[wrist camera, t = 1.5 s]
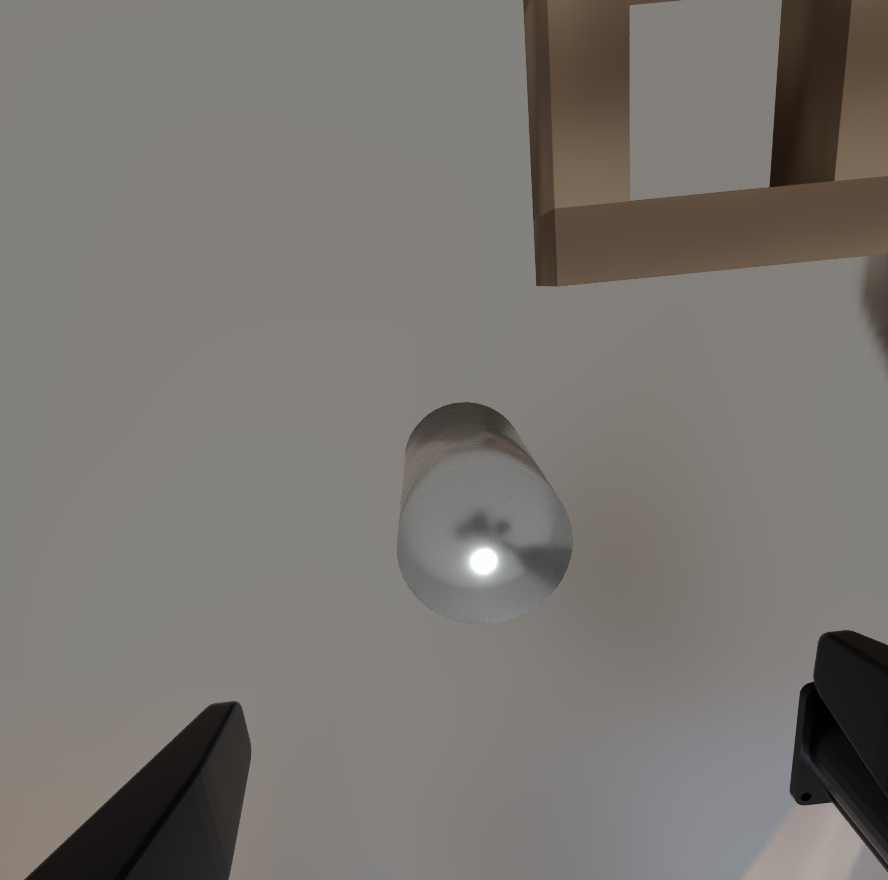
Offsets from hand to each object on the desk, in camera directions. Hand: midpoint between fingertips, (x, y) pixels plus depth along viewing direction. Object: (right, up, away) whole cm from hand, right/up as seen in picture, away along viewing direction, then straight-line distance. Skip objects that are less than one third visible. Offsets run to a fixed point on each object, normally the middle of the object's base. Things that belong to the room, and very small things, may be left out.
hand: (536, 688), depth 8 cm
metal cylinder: (-1, +3, +12) cm, 12 cm away
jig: (+6, +14, +9) cm, 18 cm away
